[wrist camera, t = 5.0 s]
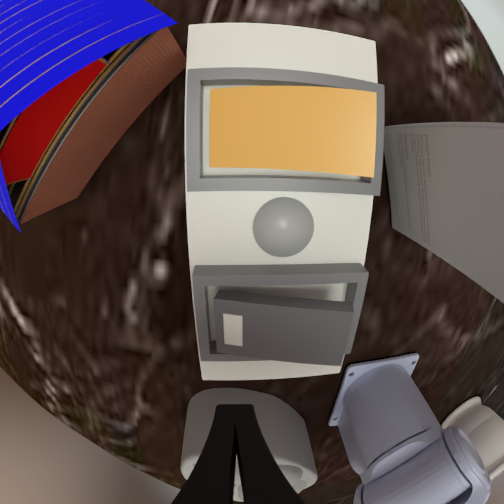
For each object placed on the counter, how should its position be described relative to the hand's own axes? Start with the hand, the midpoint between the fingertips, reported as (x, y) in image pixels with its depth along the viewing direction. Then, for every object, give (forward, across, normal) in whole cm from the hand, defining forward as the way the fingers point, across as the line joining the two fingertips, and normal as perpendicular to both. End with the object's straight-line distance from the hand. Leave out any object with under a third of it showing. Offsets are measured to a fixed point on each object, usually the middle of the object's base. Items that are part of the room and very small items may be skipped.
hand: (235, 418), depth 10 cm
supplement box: (+11, -14, -9) cm, 20 cm away
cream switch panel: (+10, -3, -6) cm, 12 cm away
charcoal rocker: (+6, -3, 0) cm, 6 cm away
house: (+11, +14, -18) cm, 25 cm away
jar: (+11, -36, +25) cm, 45 cm away
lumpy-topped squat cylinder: (+11, -1, +16) cm, 19 cm away
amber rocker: (+6, -3, -10) cm, 12 cm away
